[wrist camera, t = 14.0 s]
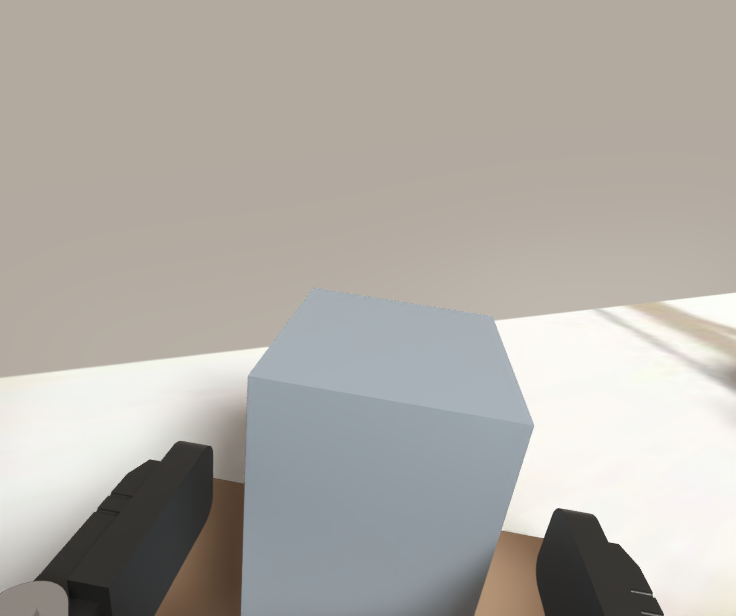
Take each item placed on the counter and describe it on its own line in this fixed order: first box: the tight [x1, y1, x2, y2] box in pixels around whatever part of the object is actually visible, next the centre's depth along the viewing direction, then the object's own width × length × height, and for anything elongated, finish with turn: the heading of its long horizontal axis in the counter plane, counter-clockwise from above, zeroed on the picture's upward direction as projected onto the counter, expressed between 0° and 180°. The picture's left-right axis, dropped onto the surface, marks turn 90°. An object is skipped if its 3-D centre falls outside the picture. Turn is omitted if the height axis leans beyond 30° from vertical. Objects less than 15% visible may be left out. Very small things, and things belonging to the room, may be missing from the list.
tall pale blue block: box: [241, 288, 534, 616], centre depth 14 cm, size 6×6×12 cm
